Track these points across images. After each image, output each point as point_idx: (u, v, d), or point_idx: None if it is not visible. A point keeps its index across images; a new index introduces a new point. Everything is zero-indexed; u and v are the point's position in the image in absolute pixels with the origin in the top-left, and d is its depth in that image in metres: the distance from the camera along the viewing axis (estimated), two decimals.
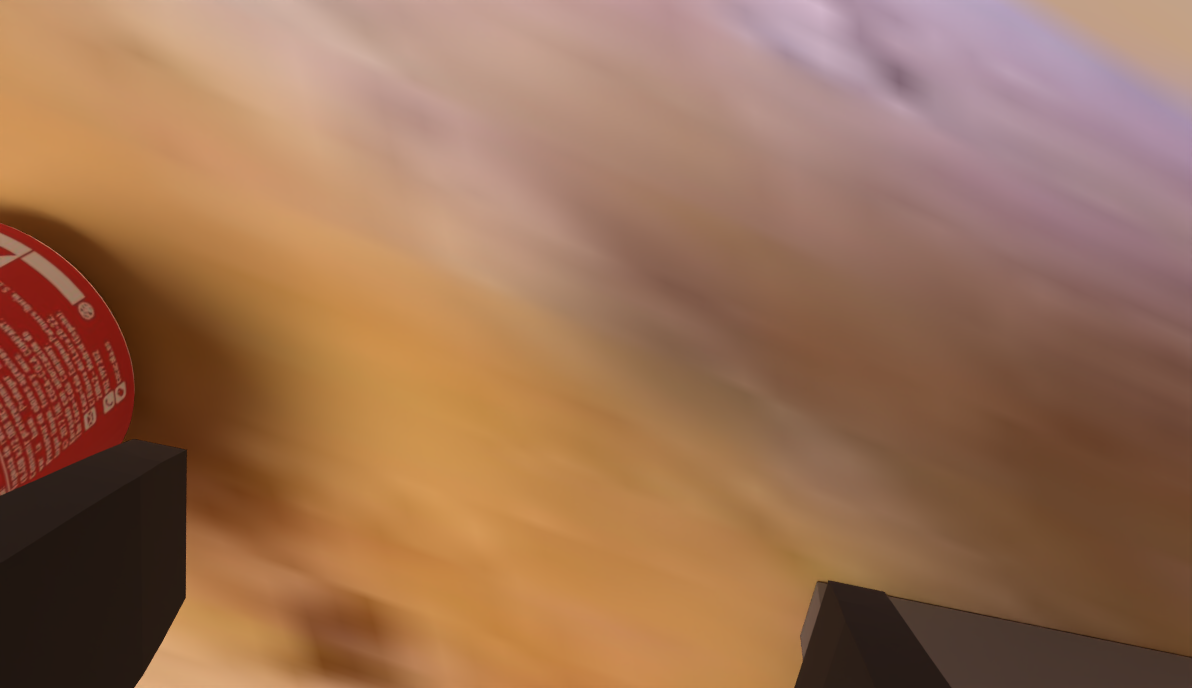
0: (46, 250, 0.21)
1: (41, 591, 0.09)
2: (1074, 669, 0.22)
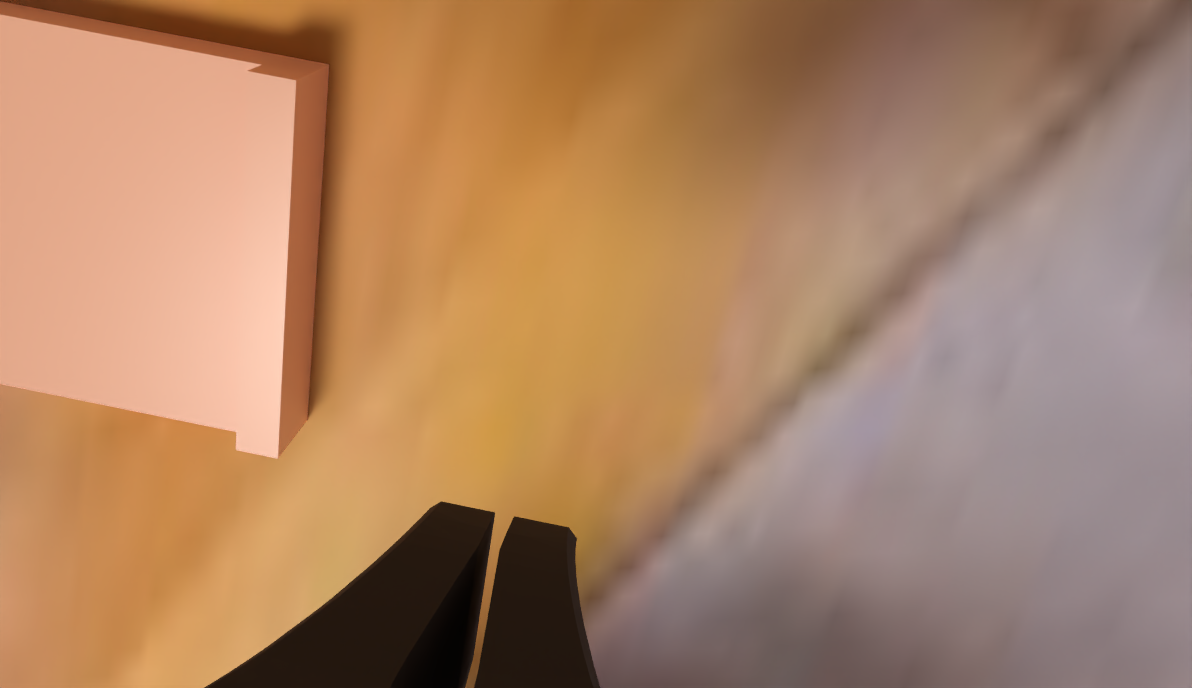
0: None
1: (423, 670, 0.09)
2: None
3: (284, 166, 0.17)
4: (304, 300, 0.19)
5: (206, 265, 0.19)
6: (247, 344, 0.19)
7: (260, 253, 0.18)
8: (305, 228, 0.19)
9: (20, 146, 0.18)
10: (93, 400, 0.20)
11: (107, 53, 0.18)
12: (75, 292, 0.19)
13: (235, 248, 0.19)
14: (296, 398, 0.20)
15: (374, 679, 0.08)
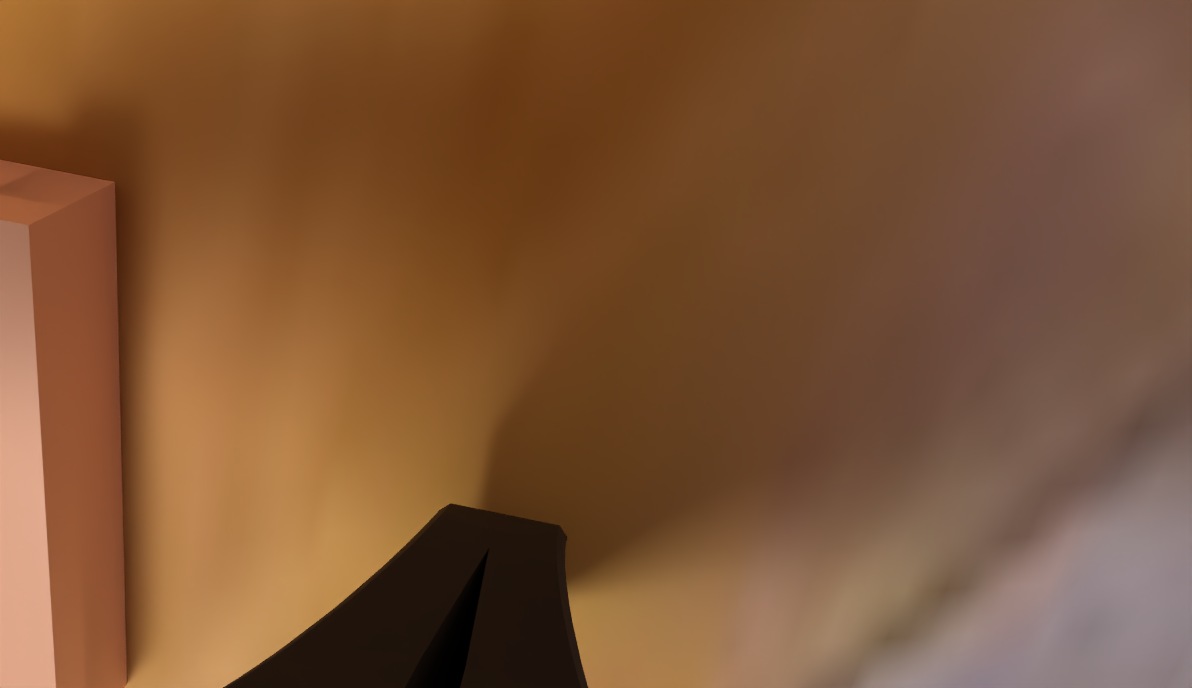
0: None
1: (435, 673, 0.09)
2: None
3: (25, 359, 0.11)
4: (95, 535, 0.13)
5: None
6: None
7: (1, 487, 0.11)
8: (86, 435, 0.12)
9: None
10: None
11: None
12: None
13: None
14: (95, 672, 0.13)
15: (388, 682, 0.08)
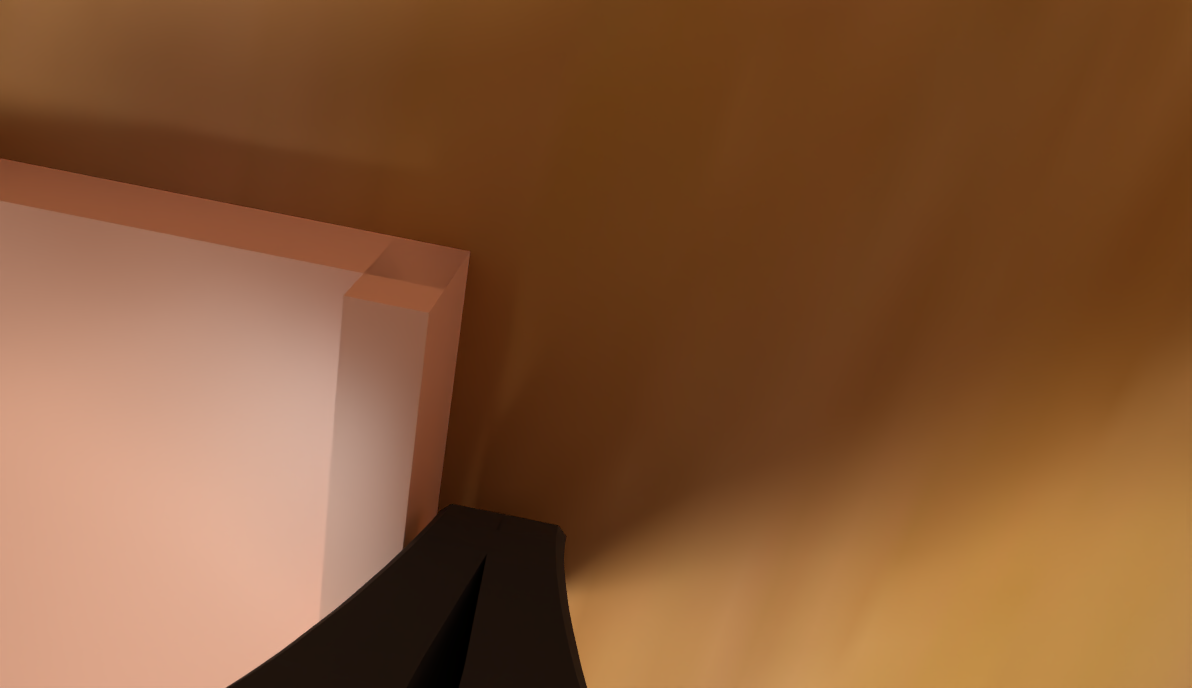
0: None
1: (437, 673, 0.09)
2: None
3: (402, 444, 0.10)
4: None
5: (260, 566, 0.12)
6: None
7: (354, 570, 0.11)
8: (422, 512, 0.12)
9: None
10: None
11: (102, 249, 0.10)
12: (52, 596, 0.12)
13: (308, 544, 0.12)
14: None
15: (389, 682, 0.08)
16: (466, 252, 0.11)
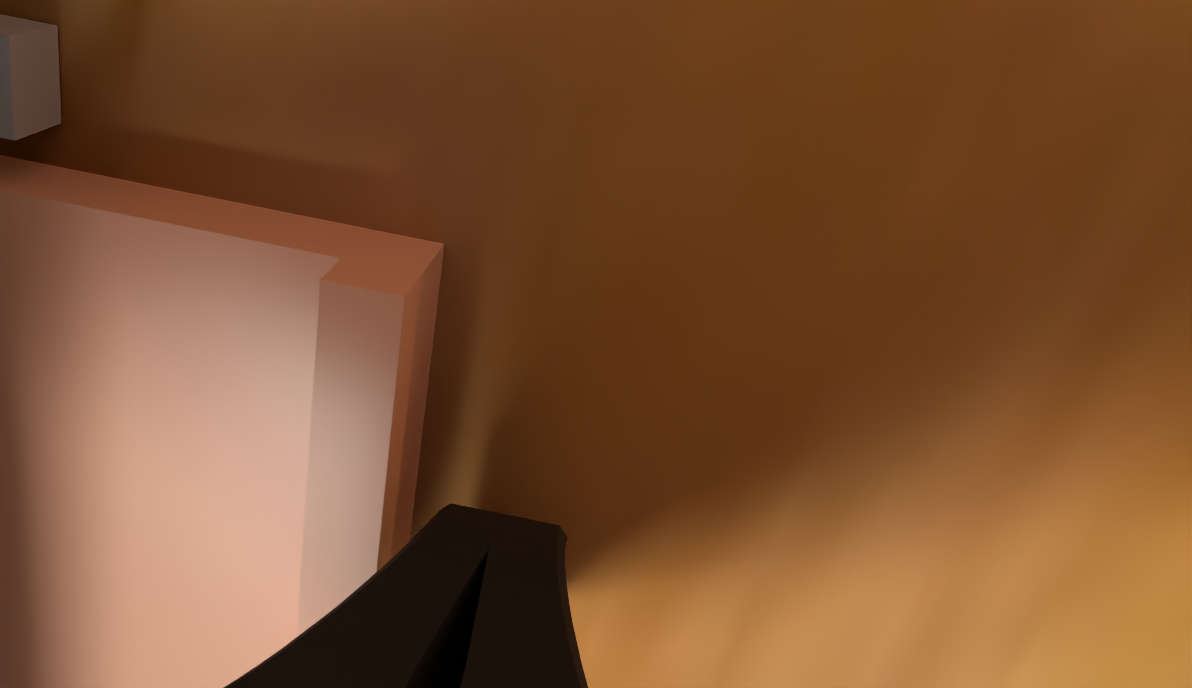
0: None
1: (435, 673, 0.09)
2: None
3: (379, 426, 0.10)
4: None
5: (242, 550, 0.12)
6: None
7: (333, 553, 0.11)
8: (401, 497, 0.12)
9: None
10: None
11: (84, 233, 0.11)
12: (35, 580, 0.12)
13: (288, 528, 0.12)
14: None
15: (387, 682, 0.08)
16: None
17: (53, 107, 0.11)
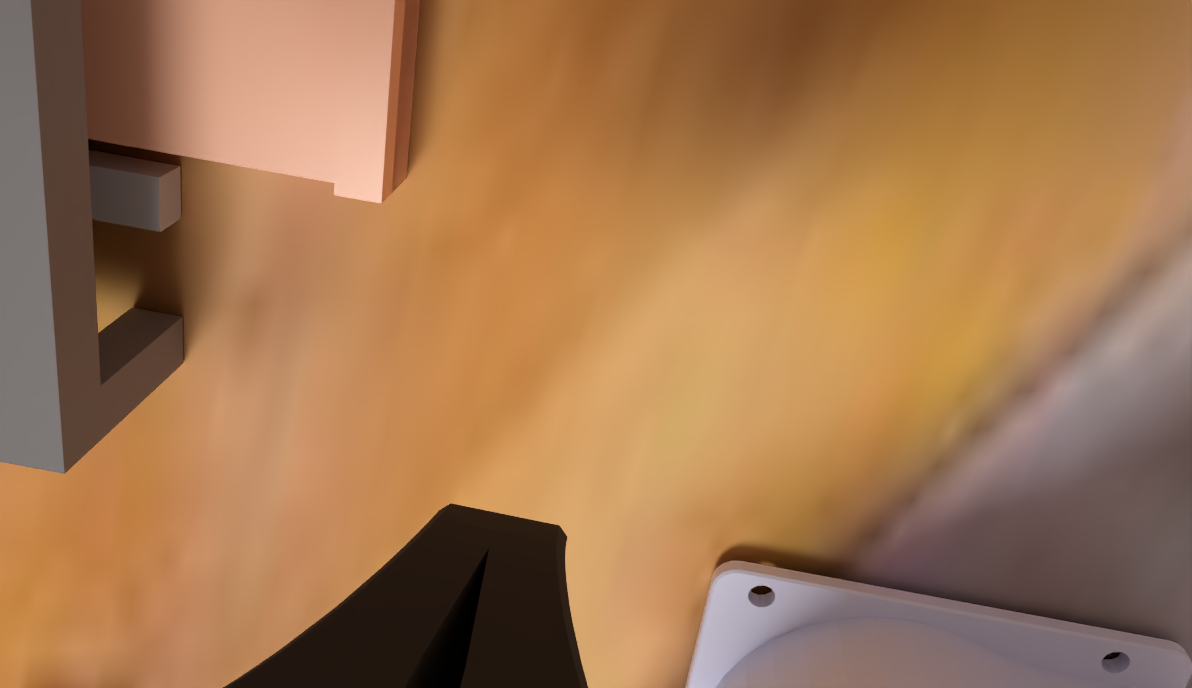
0: None
1: (435, 673, 0.09)
2: None
3: None
4: (409, 20, 0.17)
5: None
6: (350, 61, 0.17)
7: None
8: None
9: None
10: (170, 150, 0.18)
11: None
12: (152, 16, 0.17)
13: None
14: (398, 142, 0.18)
15: (387, 682, 0.08)
16: None
17: None
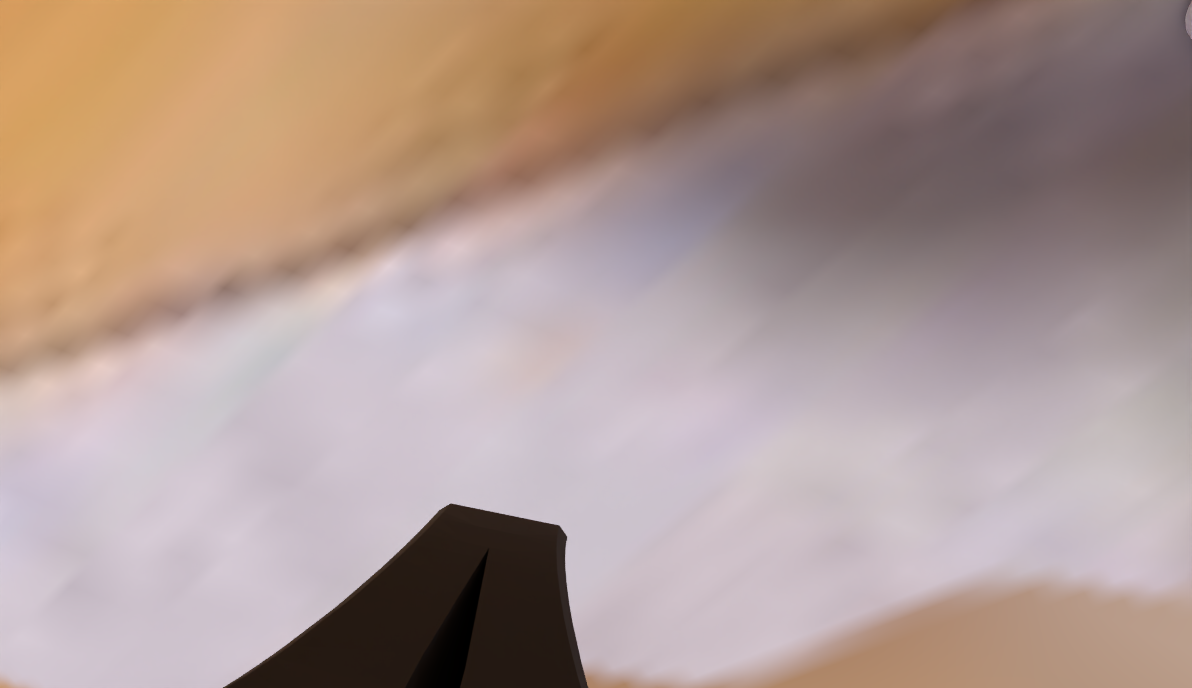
0: None
1: (435, 673, 0.09)
2: None
3: None
4: None
5: None
6: None
7: None
8: None
9: None
10: None
11: None
12: None
13: None
14: None
15: (388, 682, 0.08)
16: None
17: None
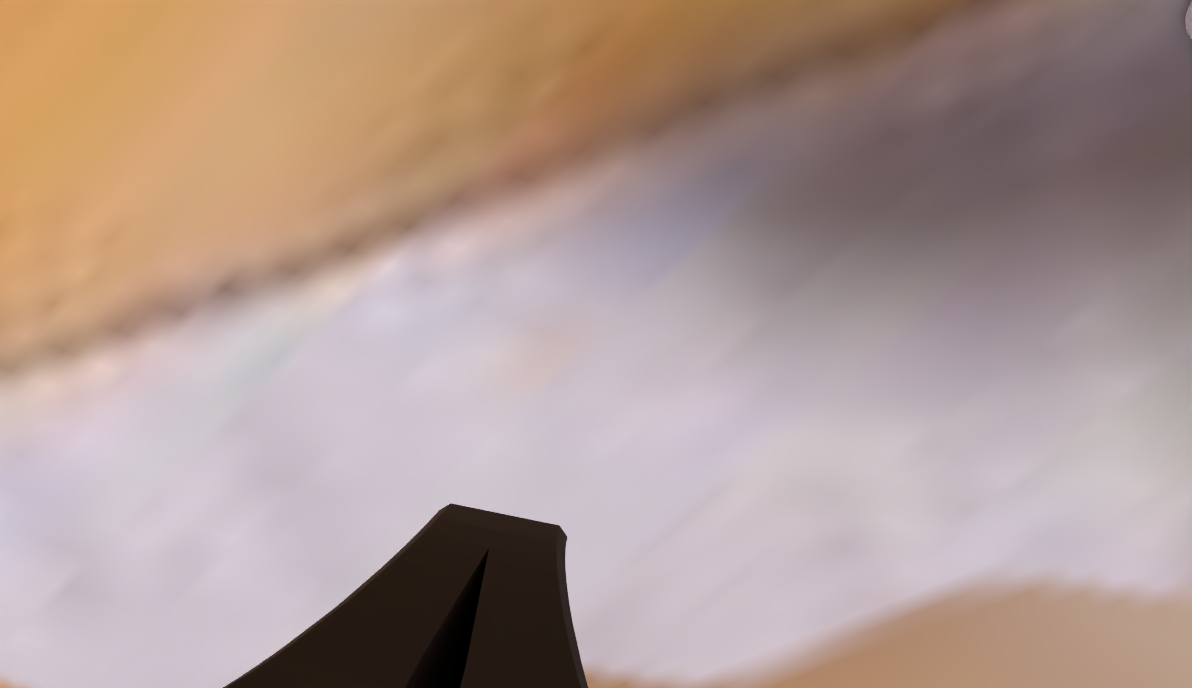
0: None
1: (435, 673, 0.09)
2: None
3: None
4: None
5: None
6: None
7: None
8: None
9: None
10: None
11: None
12: None
13: None
14: None
15: (388, 682, 0.08)
16: None
17: None
